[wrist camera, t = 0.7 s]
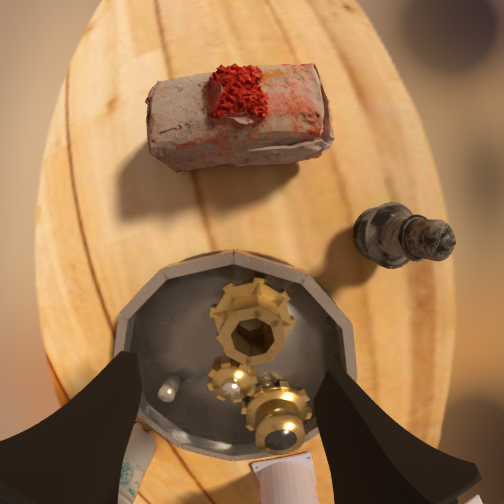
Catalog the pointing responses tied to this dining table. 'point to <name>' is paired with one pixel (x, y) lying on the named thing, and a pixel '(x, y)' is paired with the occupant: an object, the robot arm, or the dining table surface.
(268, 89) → the food item
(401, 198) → the dining table surface
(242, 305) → the planet gear
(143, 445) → the bottle
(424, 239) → the grey chess piece
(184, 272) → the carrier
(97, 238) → the dining table surface
